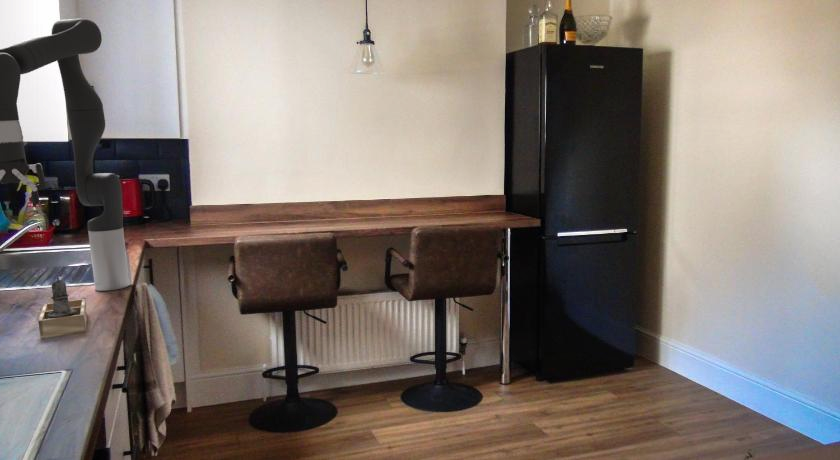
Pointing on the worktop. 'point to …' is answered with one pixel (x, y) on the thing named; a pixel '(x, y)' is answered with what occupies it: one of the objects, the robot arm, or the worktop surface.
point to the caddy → (63, 320)
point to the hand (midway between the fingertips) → (14, 208)
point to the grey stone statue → (60, 300)
